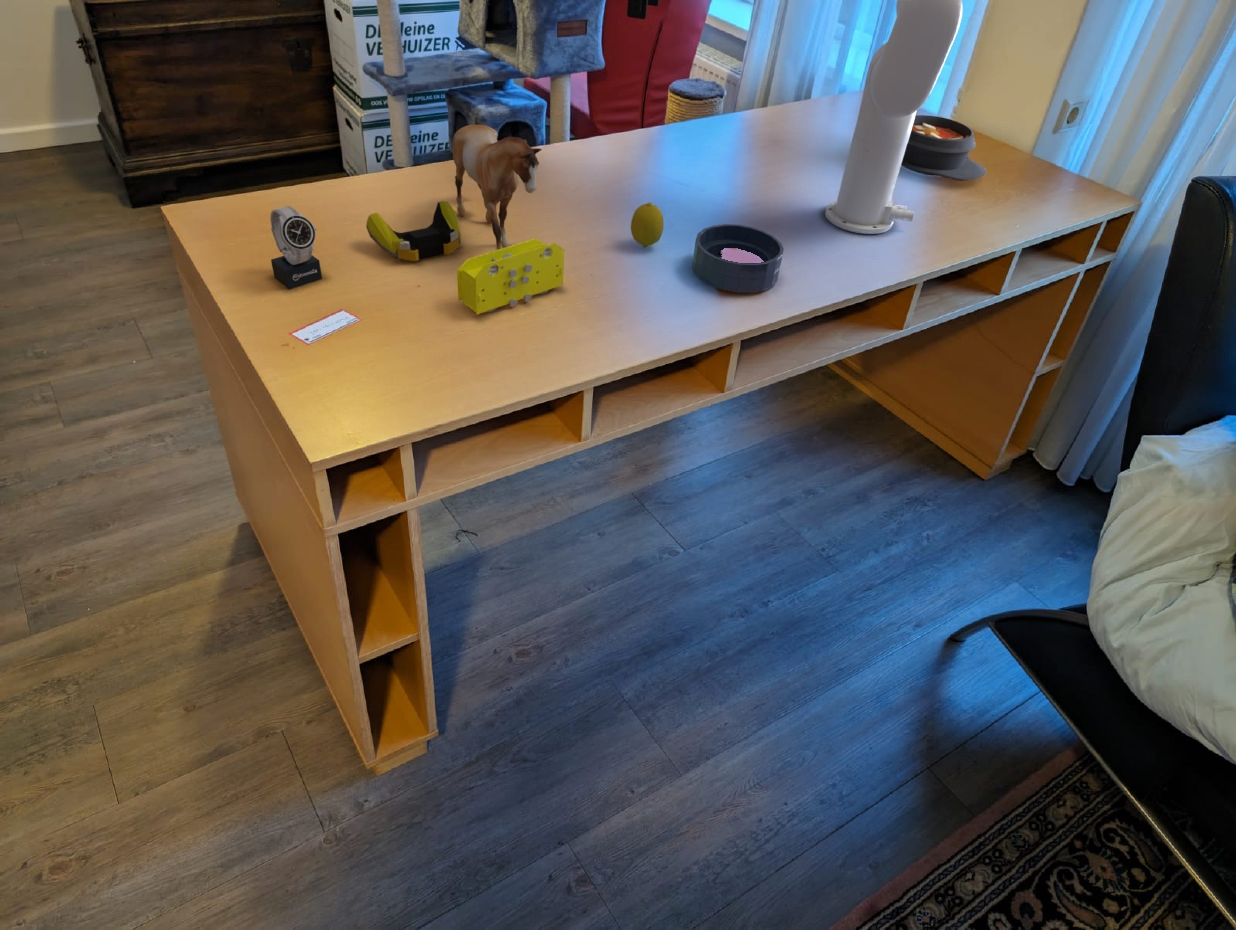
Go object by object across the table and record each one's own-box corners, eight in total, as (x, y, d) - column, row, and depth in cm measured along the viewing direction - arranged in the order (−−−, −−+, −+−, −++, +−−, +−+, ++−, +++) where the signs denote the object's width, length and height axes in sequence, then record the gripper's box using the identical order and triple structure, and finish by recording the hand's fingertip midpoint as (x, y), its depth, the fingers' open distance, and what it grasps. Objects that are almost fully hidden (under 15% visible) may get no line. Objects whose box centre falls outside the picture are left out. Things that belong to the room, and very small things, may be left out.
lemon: (648, 258, 147) (653, 213, 142) (622, 247, 150) (626, 202, 145) (667, 247, 151) (672, 203, 146) (641, 236, 153) (646, 192, 148)
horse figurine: (541, 275, 140) (543, 148, 127) (494, 282, 137) (491, 152, 124) (484, 195, 161) (481, 79, 148) (443, 199, 158) (436, 81, 145)
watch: (295, 295, 130) (282, 225, 123) (268, 273, 134) (255, 205, 127) (329, 283, 133) (318, 215, 126) (302, 263, 137) (290, 196, 130)
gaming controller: (365, 243, 144) (388, 270, 138) (361, 211, 140) (384, 237, 134) (450, 226, 150) (475, 252, 144) (448, 196, 147) (474, 220, 141)
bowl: (780, 262, 150) (786, 232, 146) (772, 302, 139) (779, 271, 136) (698, 248, 152) (703, 218, 148) (685, 286, 141) (689, 255, 137)
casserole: (999, 176, 188) (1013, 137, 182) (954, 196, 178) (967, 155, 172) (901, 139, 201) (911, 101, 196) (853, 155, 191) (863, 116, 185)
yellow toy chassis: (478, 320, 128) (477, 269, 123) (457, 304, 131) (454, 253, 126) (564, 290, 137) (566, 241, 132) (542, 275, 140) (543, 227, 135)
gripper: (664, -96, 132) (653, 26, 143) (686, -111, 145) (674, 3, 156) (616, -103, 133) (608, 19, 144) (643, -116, 146) (633, -3, 157)
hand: (643, 11), depth 150 cm, fingers open, 9 cm apart
